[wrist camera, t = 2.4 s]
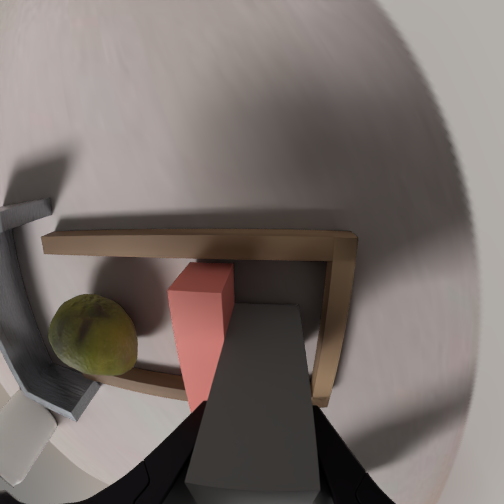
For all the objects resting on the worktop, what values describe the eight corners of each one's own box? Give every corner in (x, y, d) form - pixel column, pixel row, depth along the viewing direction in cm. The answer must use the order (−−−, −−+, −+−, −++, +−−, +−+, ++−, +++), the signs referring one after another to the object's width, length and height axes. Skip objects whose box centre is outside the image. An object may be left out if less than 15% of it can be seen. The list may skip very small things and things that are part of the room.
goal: (100, 386, 16) (76, 421, 13) (49, 369, 17) (25, 396, 13) (50, 197, 12) (-1, 211, 8) (2, 206, 13) (-39, 219, 9)
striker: (291, 380, 14) (294, 529, 6) (203, 376, 14) (159, 514, 6) (301, 264, 12) (340, 450, 3) (189, 262, 12) (75, 412, 4)
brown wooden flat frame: (324, 393, 15) (327, 407, 14) (92, 367, 16) (84, 377, 15) (350, 231, 12) (358, 237, 11) (54, 231, 13) (41, 236, 12)
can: (18, 379, 19) (-36, 441, 8) (59, 416, 20) (12, 488, 8) (20, 400, 21) (-22, 455, 9) (57, 432, 22) (19, 493, 10)
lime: (161, 342, 14) (125, 404, 10) (101, 346, 15) (61, 394, 10) (130, 271, 13) (75, 319, 8) (71, 285, 14) (19, 325, 9)
